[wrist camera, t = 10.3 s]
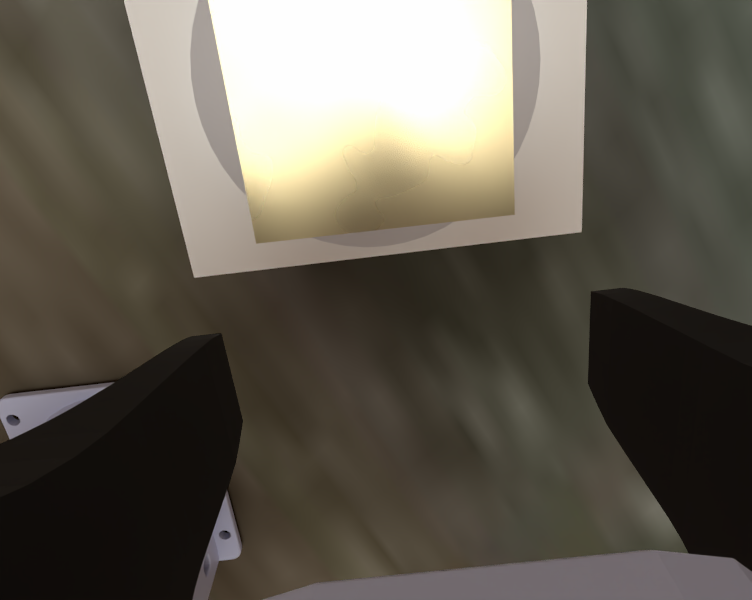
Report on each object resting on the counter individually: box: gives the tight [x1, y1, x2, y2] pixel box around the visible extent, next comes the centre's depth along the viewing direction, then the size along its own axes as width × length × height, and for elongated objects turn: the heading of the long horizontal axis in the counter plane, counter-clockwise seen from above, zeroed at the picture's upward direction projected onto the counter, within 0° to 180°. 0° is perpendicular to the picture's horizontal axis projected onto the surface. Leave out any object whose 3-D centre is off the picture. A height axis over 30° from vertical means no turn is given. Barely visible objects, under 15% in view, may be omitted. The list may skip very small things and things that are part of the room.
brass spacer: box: [208, 0, 515, 244], centre depth 13 cm, size 5×5×7 cm
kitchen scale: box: [124, 0, 587, 278], centre depth 16 cm, size 15×13×5 cm
